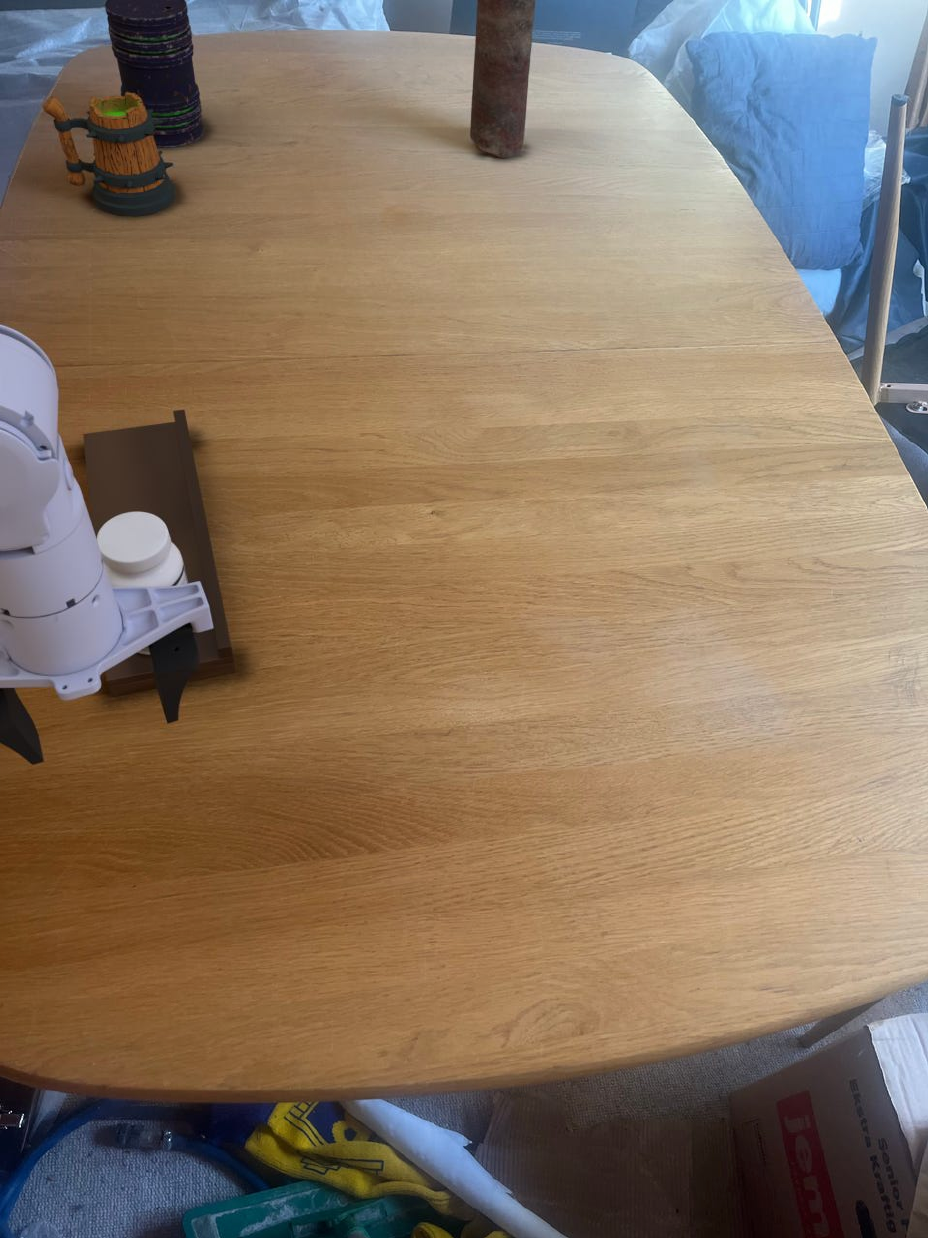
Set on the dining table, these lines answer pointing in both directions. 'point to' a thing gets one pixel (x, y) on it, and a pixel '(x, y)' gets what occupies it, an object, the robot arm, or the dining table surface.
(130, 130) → the mug
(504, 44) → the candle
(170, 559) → the pill bottle
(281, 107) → the dining table surface
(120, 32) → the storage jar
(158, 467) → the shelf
